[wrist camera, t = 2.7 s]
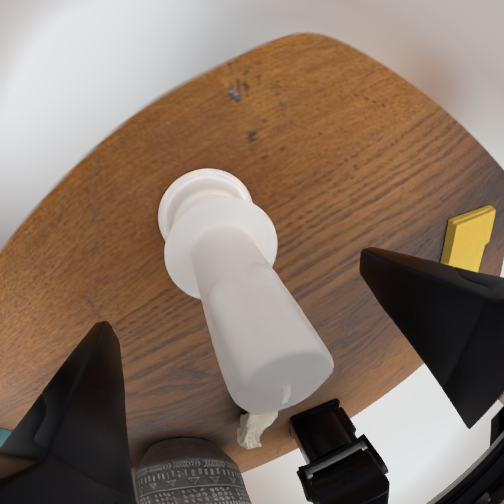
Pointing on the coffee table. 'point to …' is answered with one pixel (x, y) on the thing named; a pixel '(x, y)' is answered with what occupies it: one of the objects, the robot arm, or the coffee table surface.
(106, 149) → the coffee table surface
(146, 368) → the coffee table surface
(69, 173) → the coffee table surface
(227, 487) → the planter
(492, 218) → the towel
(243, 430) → the off-white irregular piece
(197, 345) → the coffee table surface
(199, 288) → the candle
